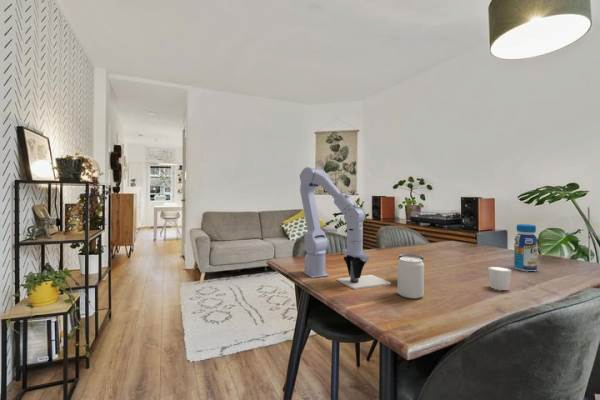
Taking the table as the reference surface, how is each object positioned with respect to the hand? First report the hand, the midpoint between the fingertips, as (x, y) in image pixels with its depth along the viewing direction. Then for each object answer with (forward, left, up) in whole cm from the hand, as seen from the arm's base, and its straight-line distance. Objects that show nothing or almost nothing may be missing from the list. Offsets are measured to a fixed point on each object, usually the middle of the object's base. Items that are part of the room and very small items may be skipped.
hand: (354, 276), depth 111 cm
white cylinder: (+24, +45, -3) cm, 51 cm away
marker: (0, 0, -2) cm, 2 cm away
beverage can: (+18, +10, -3) cm, 21 cm away
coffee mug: (+5, +22, -3) cm, 23 cm away
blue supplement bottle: (+11, +82, -3) cm, 83 cm away
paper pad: (0, +4, -2) cm, 5 cm away
